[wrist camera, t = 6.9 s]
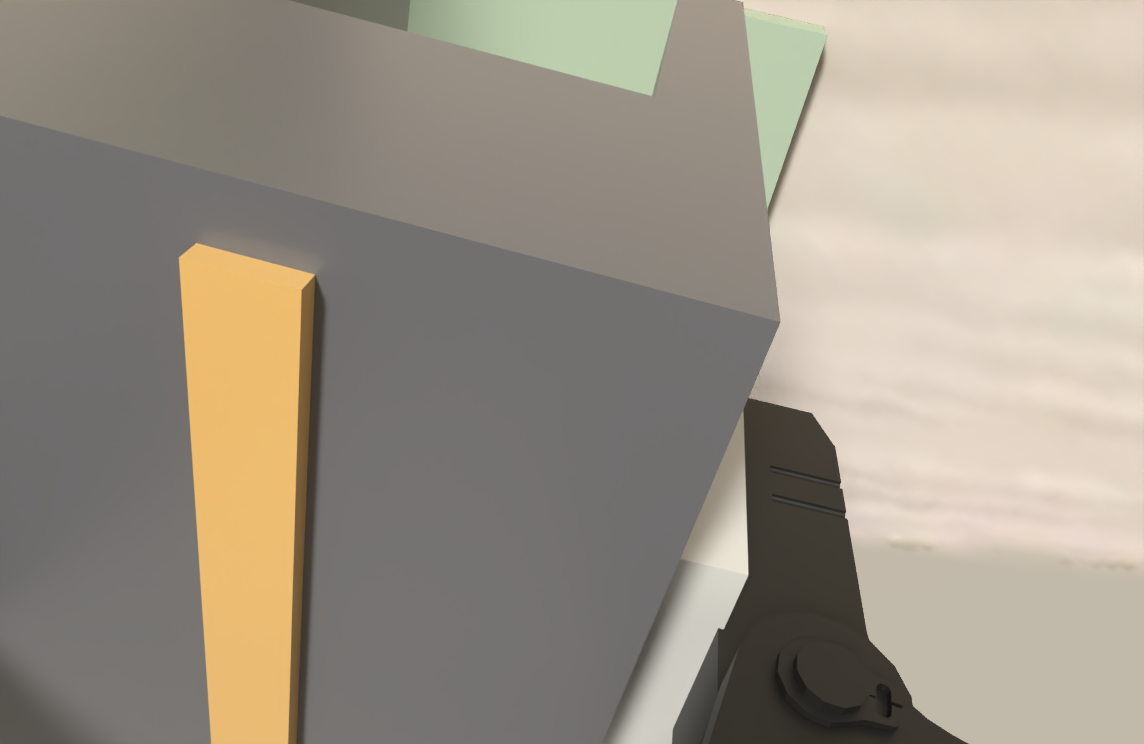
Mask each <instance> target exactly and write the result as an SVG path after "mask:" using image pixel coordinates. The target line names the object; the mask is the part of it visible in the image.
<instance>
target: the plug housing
mask: <svg viewBox="0 0 1144 744" xmlns="http://www.w3.org/2000/svg"><path fill="white" fill-rule="evenodd" d="M409 9H410V0H0V744H602V742H603V740H604V738H605V735H606V733H607V731H608V728H609V726H610V723H611V721H612V719H613V716H614V714H615V712H616V709H617V707H618V705H619V702H620V700H621V697H622V695H623V693H624V690H625V688H626V686H627V683H628V681H629V679H630V676H631V674H632V671H633V669H634V667H635V664H636V662H637V660H638V657H639V655H640V653H641V650H642V648H643V645H644V643H645V641H646V638H647V636H648V634H649V631H650V629H651V627H652V624H653V622H654V619H655V617H656V615H657V612H658V610H659V608H660V605H661V603H662V601H663V598H664V596H665V593H666V591H667V589H668V586H669V584H670V582H671V579H672V577H673V575H674V572H675V570H676V567H677V565H678V563H679V560H680V558H681V556H682V553H683V551H684V549H685V546H686V544H687V541H688V539H689V537H690V534H691V532H692V530H693V527H694V525H695V523H696V520H697V518H698V515H699V513H700V511H701V508H702V506H703V504H704V501H705V499H706V497H707V494H708V492H709V489H710V487H711V485H712V482H713V480H714V478H715V475H716V473H717V471H718V468H719V466H720V463H721V461H722V459H723V456H724V454H725V452H726V449H727V447H728V445H729V442H730V440H731V437H732V435H733V433H734V430H735V428H736V426H737V423H738V421H739V419H740V416H741V414H742V411H743V409H744V407H745V404H746V402H747V400H748V397H749V395H750V393H751V390H752V388H753V385H754V383H755V381H756V378H757V376H758V374H759V371H760V369H761V367H762V364H763V362H764V359H765V357H766V355H767V352H768V350H769V348H770V345H771V343H772V341H773V338H774V336H775V333H776V331H777V329H778V326H779V324H780V315H779V306H778V298H777V289H776V280H775V272H774V263H773V255H772V246H771V237H770V229H769V220H768V212H767V203H766V195H765V186H764V177H763V169H762V160H761V152H760V143H759V134H758V126H757V117H756V109H755V100H754V92H753V83H752V74H751V66H750V57H749V49H748V40H747V31H746V23H745V14H744V6H743V2H740V1H736V0H677V4H676V7H675V11H674V15H673V18H672V22H671V26H670V30H669V33H668V37H667V41H666V45H665V48H664V52H663V56H662V60H661V63H660V67H659V71H658V74H657V78H656V82H655V86H654V89H653V93H652V96H650V95H646V94H642V93H638V92H634V91H631V90H627V89H623V88H619V87H615V86H612V85H608V84H604V83H600V82H597V81H593V80H589V79H585V78H581V77H578V76H574V75H570V74H566V73H562V72H559V71H555V70H551V69H547V68H544V67H540V66H536V65H532V64H528V63H525V62H521V61H517V60H513V59H509V58H506V57H502V56H498V55H494V54H490V53H487V52H483V51H479V50H475V49H472V48H468V47H464V46H460V45H456V44H453V43H449V42H445V41H441V40H437V39H434V38H430V37H426V36H422V35H418V34H415V33H411V32H407V30H408V20H409Z"/></svg>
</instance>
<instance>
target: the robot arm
mask: <svg viewBox="0 0 1144 744" xmlns="http://www.w3.org/2000/svg"><path fill="white" fill-rule="evenodd" d="M840 483H841V479H840V473H839V467H838V461H837V456H836V450H835V446H834V445H833V444H832V442H831V441H830V439H829V438H828V436H827V435H826V433H825V432H824V430H823V429H822V428H821V426H820V425H819V423H818V422H817V420H816V419H815V417H814V416H813V414H812V413H809V412H804V411H800V410H796V409H792V408H788V407H783V406H779V405H775V404H771V403H766V402H762V401H758V400H754V399H750V398H748V400H747V402H746V404H745V407H744V409H743V411H742V414H741V416H740V419H739V421H738V423H737V426H736V428H735V430H734V433H733V435H732V437H731V440H730V442H729V445H728V447H727V449H726V452H725V454H724V456H723V459H722V461H721V463H720V466H719V468H718V471H717V473H716V475H715V478H714V480H713V482H712V485H711V487H710V489H709V492H708V494H707V497H706V499H705V501H704V504H703V506H702V508H701V511H700V513H699V515H698V518H697V520H696V523H695V525H694V527H693V530H692V532H691V534H690V537H689V539H688V541H687V544H686V546H685V549H684V551H683V553H682V556H681V558H680V560H679V563H678V565H677V567H676V570H675V572H674V575H673V577H672V579H671V582H670V584H669V586H668V589H667V591H666V593H665V596H664V598H663V601H662V603H661V605H660V608H659V610H658V612H657V615H656V617H655V619H654V622H653V624H652V627H651V629H650V631H649V634H648V636H647V638H646V641H645V643H644V645H643V648H642V650H641V653H640V655H639V657H638V660H637V662H636V664H635V667H634V669H633V671H632V674H631V676H630V679H629V681H628V683H627V686H626V688H625V690H624V693H623V695H622V697H621V700H620V702H619V705H618V707H617V709H616V712H615V714H614V716H613V719H612V721H611V723H610V726H609V728H608V731H607V733H606V735H605V738H604V740H603V742H602V744H968V743H966V742H964V741H962V740H960V739H958V738H957V737H955V736H953V735H951V734H950V733H948V732H947V731H945V730H944V729H942V728H941V727H939V726H937V725H936V724H934V723H933V722H931V721H930V720H928V719H927V718H925V717H924V716H923V715H922V714H921V713H920V712H919V711H918V710H916V709H915V708H914V707H913V705H912V698H911V695H910V694H909V692H908V690H907V688H906V686H905V684H904V683H903V681H902V679H901V677H900V675H899V673H898V672H897V670H896V668H895V666H894V665H893V664H892V663H891V662H890V661H889V660H888V659H887V658H886V657H885V656H884V655H883V654H882V653H881V652H880V651H879V650H878V649H877V648H876V647H875V646H874V645H873V644H872V643H871V642H870V641H869V638H868V635H867V631H866V626H865V619H864V614H863V608H862V602H861V596H860V590H859V584H858V579H857V573H856V567H855V561H854V555H853V549H852V543H851V538H850V532H849V526H848V520H847V519H846V518H845V513H846V508H845V502H844V497H843V491H842V489H840Z"/></svg>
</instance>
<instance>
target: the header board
mask: <svg viewBox="0 0 1144 744" xmlns="http://www.w3.org/2000/svg"><path fill="white" fill-rule="evenodd" d="M676 4H677V0H410V9H409V20H408V30H407V32H411V33H415V34H418V35H422V36H426V37H430V38H434V39H437V40H441V41H445V42H449V43H453V44H456V45H460V46H464V47H468V48H472V49H475V50H479V51H483V52H487V53H490V54H494V55H498V56H502V57H506V58H509V59H513V60H517V61H521V62H525V63H528V64H532V65H536V66H540V67H544V68H547V69H551V70H555V71H559V72H562V73H566V74H570V75H574V76H578V77H581V78H585V79H589V80H593V81H597V82H600V83H604V84H608V85H612V86H615V87H619V88H623V89H627V90H631V91H634V92H638V93H642V94H646V95H650V96H652V93H653V89H654V86H655V82H656V78H657V74H658V71H659V67H660V63H661V60H662V56H663V52H664V48H665V45H666V41H667V37H668V33H669V30H670V26H671V22H672V18H673V15H674V11H675V7H676ZM744 14H745V23H746V31H747V40H748V49H749V57H750V66H751V74H752V83H753V92H754V100H755V109H756V117H757V126H758V134H759V143H760V152H761V160H762V169H763V177H764V186H765V195H766V203H767V209H768V206H769V203H770V200H771V198H772V195H773V192H774V189H775V186H776V183H777V180H778V177H779V174H780V172H781V169H782V166H783V163H784V160H785V157H786V154H787V151H788V148H789V145H790V143H791V140H792V137H793V134H794V131H795V128H796V125H797V122H798V119H799V117H800V114H801V111H802V108H803V105H804V102H805V99H806V96H807V93H808V90H809V88H810V85H811V82H812V79H813V76H814V73H815V70H816V67H817V64H818V62H819V59H820V56H821V53H822V50H823V47H824V44H825V41H826V38H827V33H826V30H825V28H824V27H822V26H818V25H814V24H809V23H805V22H800V21H796V20H792V19H787V18H783V17H778V16H774V15H770V14H765V13H761V12H756V11H752V10H748V9H744Z"/></svg>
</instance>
